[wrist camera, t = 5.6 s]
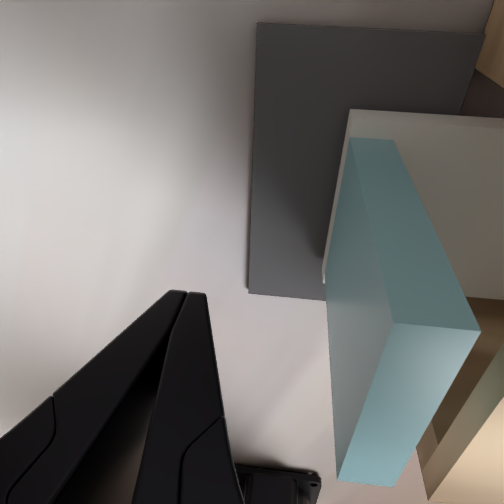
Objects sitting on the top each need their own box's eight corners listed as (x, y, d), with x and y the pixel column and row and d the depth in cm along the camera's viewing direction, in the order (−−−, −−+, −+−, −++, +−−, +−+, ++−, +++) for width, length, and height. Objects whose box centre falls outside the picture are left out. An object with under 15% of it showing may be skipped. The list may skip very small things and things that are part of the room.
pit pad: (391, 303, 17) (392, 307, 16) (248, 290, 17) (248, 293, 17) (483, 33, 10) (486, 34, 10) (257, 22, 11) (257, 23, 11)
